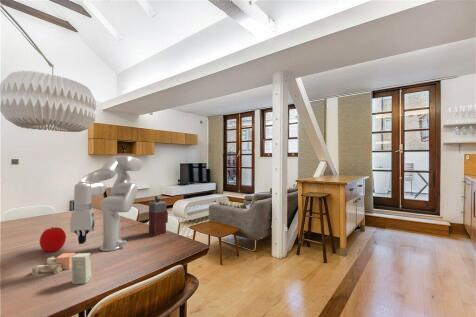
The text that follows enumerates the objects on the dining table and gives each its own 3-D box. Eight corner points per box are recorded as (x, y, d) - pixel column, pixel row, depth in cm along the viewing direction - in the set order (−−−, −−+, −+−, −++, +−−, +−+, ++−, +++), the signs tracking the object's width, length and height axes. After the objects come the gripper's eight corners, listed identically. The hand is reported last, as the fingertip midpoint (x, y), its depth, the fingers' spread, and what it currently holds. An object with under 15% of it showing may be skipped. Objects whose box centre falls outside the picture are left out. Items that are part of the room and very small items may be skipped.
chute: (73, 260, 127) (73, 255, 127) (57, 273, 113) (57, 267, 113) (51, 261, 125) (51, 256, 125) (32, 275, 111) (32, 268, 111)
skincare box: (91, 278, 108) (91, 252, 108) (86, 284, 104) (86, 256, 104) (77, 279, 108) (77, 252, 108) (71, 284, 104) (71, 256, 104)
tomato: (35, 255, 133) (35, 230, 133) (45, 247, 144) (45, 224, 144) (60, 252, 137) (60, 228, 137) (69, 245, 148) (69, 223, 148)
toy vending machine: (168, 232, 174) (169, 195, 174) (155, 236, 165) (155, 197, 165) (162, 230, 180) (162, 193, 180) (148, 233, 171) (148, 195, 171)
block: (75, 264, 123) (75, 252, 123) (69, 269, 117) (69, 257, 117) (62, 264, 122) (62, 253, 122) (56, 269, 117) (56, 257, 117)
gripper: (101, 205, 125) (100, 240, 125) (71, 206, 123) (70, 241, 123) (95, 208, 118) (94, 245, 117) (62, 209, 116) (61, 246, 115)
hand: (82, 243), depth 120 cm, fingers closed
